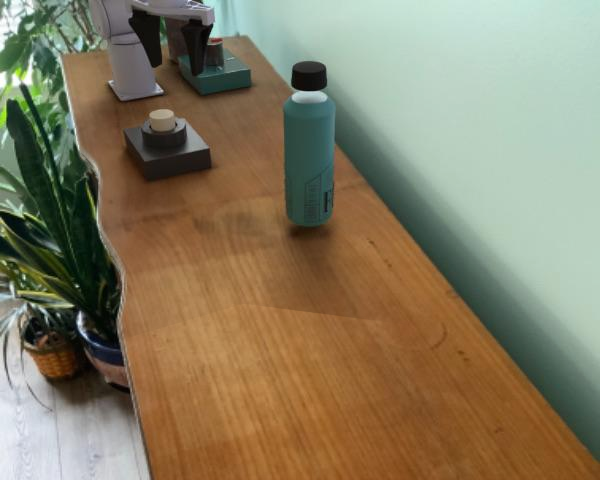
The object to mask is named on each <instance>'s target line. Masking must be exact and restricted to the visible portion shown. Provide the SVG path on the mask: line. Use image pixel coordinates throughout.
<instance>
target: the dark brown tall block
mask: <svg viewBox="0 0 600 480" xmlns="http://www.w3.org/2000/svg"><path fill="white" fill-rule="evenodd" d="M192 1H194V2H197V3H200V0H192ZM163 20H164V21H163V22H164V26H165V27H164V28H165V34H166V42H167V47H168V53H169V57H170V59H171V60H173V61H174V63H176V64H178V65H179V59H178V56H184V55H189V54H188V49H187V46H186V42H185V39H184V37H183V34H182V32H181V27H182V26H184V25H186V24H189V21H187V20H181V19H175V18H169V17H163Z"/></svg>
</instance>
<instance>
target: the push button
mask: <svg viewBox="0 0 600 480" xmlns="http://www.w3.org/2000/svg"><path fill="white" fill-rule="evenodd" d="M148 116H149V119H150V123H151V128H152V130H154V131H163V132H164V131H169V130H172V129H174V128H175V127H176V126H175V119H174V117H175V113H174V112H173V111H172V110H170V109H167V108H165V109H164V108H163V109H155V110H153V111H150V113H149V115H148Z"/></svg>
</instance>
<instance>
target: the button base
mask: <svg viewBox="0 0 600 480" xmlns="http://www.w3.org/2000/svg"><path fill="white" fill-rule="evenodd" d="M174 119H175V126H176V127H175V128H174V129H172V130H169V131H164V132H163V131H154V130H152V128H151V123H150V118H149V119H147V120H145V121H143V122H142V124H141V125H140V126H135V127H130V128H129V127H128V128H123V129H122V132H123V137H124V142H125V147H126V149H127V151H128V152H129V153H130V156H131V157H132V159H133V161H135V162H136V164H137V166H138V167H139V169H140V171H141V172H142V173H143V176H144V177H145V178H146V179H147V181H149V182H150V181H155V180H159V179H160V180H161V179H164V178H167V177H173V176H177V175H181V174H182V175H183V174H186V173H191V172H195V171H199V170H203V169H209V168H212V166H213V165H212V156H211V148H210V146H209V145H208V144H207V143H206V142H205V140H204V139H202V137H201V136H200V134H198V132H196V131H197V130H195V129H194V128H193V127H192V125H191V124H190V123H189V122H188V121H187V119H186V118H185V117H180V118H179V117H177V116H174Z"/></svg>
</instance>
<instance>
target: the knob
mask: <svg viewBox="0 0 600 480" xmlns="http://www.w3.org/2000/svg"><path fill="white" fill-rule="evenodd" d="M223 49H224V42H223V38H222V36H221V37H220V36H219V37H209V40H208V43H207V47H206V52H205V58H204V64H205V65H209V66H217V65H221V64H223V63H224V52H223Z"/></svg>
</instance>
